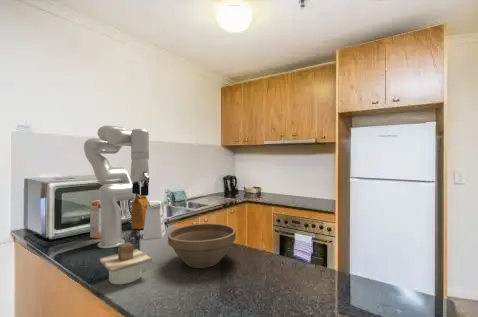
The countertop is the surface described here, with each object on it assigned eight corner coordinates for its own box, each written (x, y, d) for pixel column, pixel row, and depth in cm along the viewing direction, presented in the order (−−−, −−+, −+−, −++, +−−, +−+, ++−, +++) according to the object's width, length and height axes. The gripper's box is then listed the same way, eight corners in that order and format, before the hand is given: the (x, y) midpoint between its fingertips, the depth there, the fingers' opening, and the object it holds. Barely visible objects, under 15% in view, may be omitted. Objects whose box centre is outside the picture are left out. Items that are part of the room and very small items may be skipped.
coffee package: (154, 225, 169) (154, 193, 169) (142, 230, 157) (142, 195, 157) (141, 224, 172) (141, 192, 172) (128, 229, 160) (128, 195, 160)
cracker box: (98, 238, 141) (98, 201, 141) (89, 238, 142) (89, 201, 142) (115, 232, 155) (115, 197, 155) (107, 231, 156) (107, 197, 156)
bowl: (105, 277, 94) (105, 260, 94) (134, 268, 101) (134, 253, 101) (115, 287, 86) (115, 269, 86) (145, 277, 93) (145, 261, 93)
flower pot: (155, 262, 107) (154, 231, 107) (206, 245, 128) (206, 219, 128) (196, 284, 88) (196, 246, 88) (249, 260, 108) (249, 229, 109)
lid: (99, 260, 94) (99, 244, 94) (137, 251, 104) (137, 236, 104) (111, 272, 84) (111, 254, 84) (151, 260, 93) (151, 244, 93)
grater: (147, 233, 151) (147, 200, 151) (165, 232, 152) (165, 199, 152) (142, 238, 140) (142, 203, 141) (162, 238, 141) (161, 202, 142)
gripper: (124, 156, 118) (124, 193, 117) (139, 156, 105) (139, 197, 105) (140, 156, 123) (140, 192, 123) (156, 156, 110) (156, 195, 110)
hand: (140, 194), depth 114 cm, fingers open, 9 cm apart
